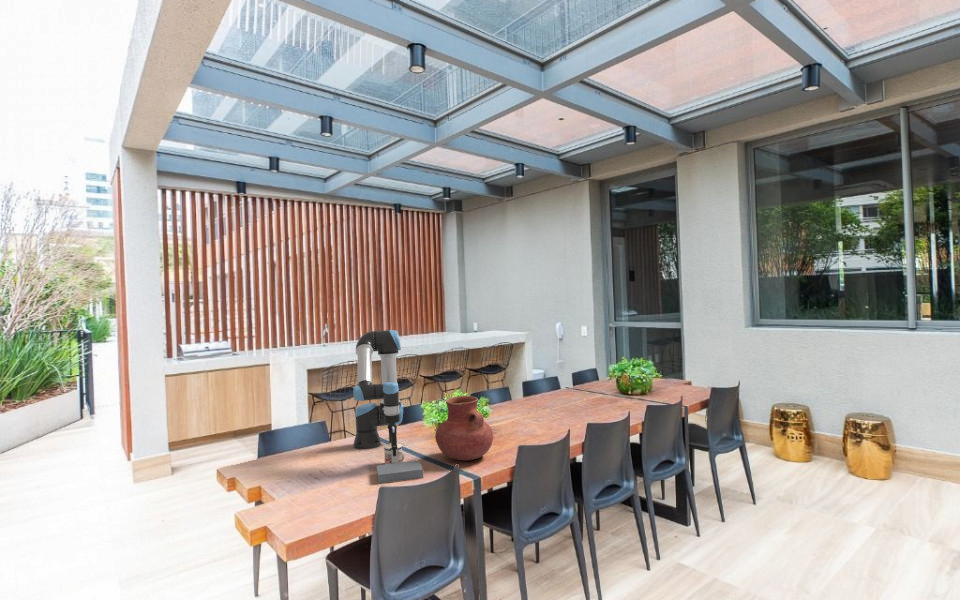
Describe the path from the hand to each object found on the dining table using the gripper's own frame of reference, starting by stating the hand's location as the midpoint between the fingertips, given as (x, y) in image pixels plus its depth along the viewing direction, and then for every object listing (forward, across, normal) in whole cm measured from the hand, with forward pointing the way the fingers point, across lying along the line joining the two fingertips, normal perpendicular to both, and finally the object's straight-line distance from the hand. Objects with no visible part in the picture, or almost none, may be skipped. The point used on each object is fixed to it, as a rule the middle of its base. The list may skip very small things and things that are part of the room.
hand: (393, 459), depth 248 cm
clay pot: (+3, +2, +36) cm, 36 cm away
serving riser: (+3, +17, +1) cm, 17 cm away
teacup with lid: (+3, +1, +1) cm, 3 cm away
